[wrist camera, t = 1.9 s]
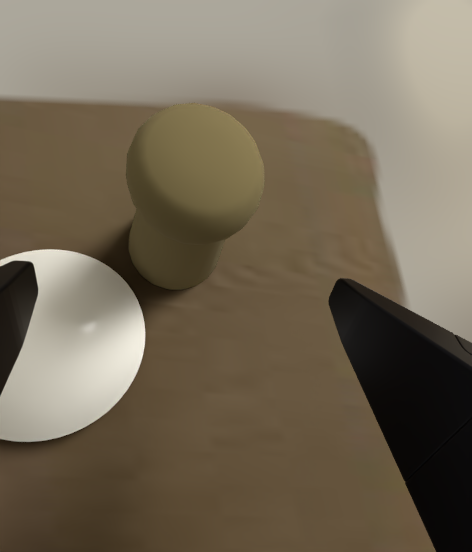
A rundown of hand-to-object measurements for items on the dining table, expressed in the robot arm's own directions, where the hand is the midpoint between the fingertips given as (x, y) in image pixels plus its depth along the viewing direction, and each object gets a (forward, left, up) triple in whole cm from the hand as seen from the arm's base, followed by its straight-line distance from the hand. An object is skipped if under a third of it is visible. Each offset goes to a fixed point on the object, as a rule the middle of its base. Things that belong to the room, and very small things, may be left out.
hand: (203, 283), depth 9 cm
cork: (+3, +3, -11) cm, 12 cm away
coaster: (-6, +4, -11) cm, 13 cm away
